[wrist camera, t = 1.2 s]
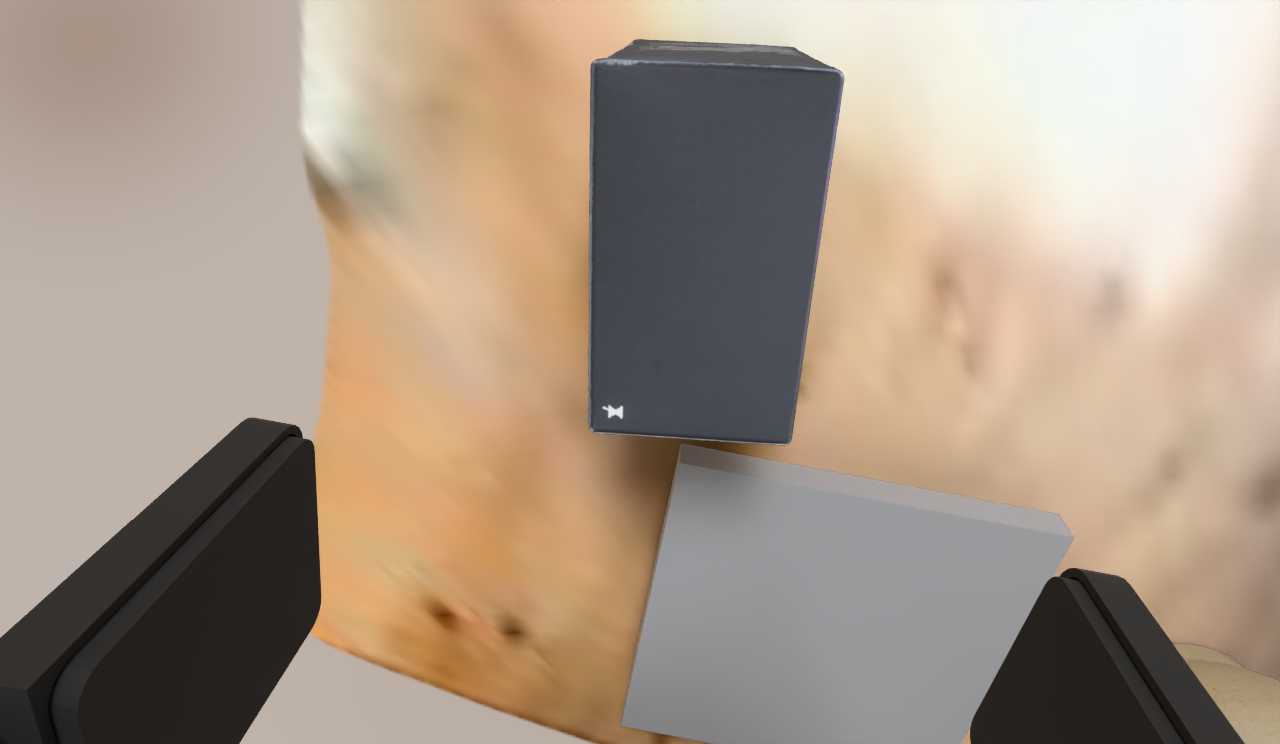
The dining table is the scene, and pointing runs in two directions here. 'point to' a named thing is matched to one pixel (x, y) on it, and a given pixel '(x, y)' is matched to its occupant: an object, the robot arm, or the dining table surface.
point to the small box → (704, 236)
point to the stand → (829, 605)
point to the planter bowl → (1238, 693)
